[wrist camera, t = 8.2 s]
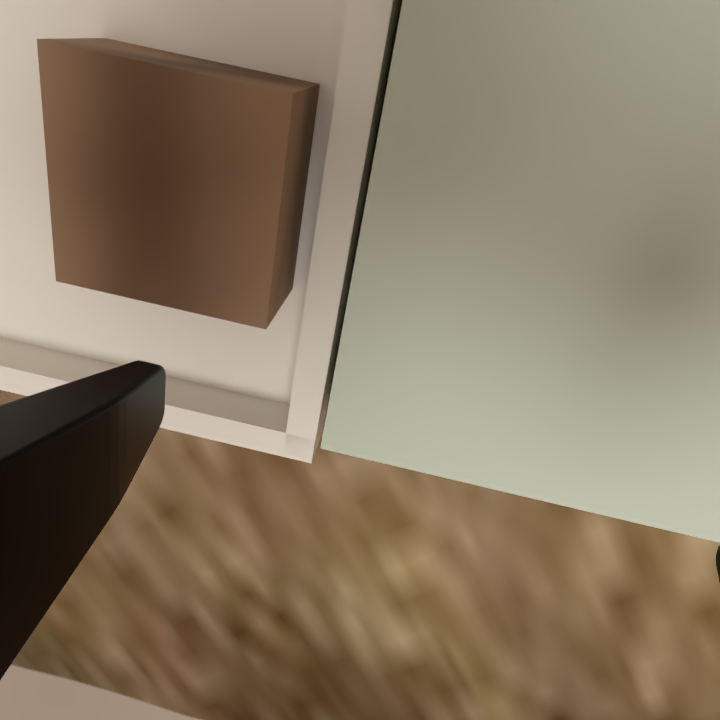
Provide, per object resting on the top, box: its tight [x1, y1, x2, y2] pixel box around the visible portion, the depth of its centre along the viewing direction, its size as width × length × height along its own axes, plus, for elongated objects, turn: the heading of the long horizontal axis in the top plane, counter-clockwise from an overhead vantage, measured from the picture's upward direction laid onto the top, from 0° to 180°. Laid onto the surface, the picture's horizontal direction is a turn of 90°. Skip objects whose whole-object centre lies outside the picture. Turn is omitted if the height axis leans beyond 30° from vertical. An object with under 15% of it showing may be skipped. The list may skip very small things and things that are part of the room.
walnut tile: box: [37, 38, 320, 329], centre depth 16 cm, size 6×6×3 cm
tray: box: [0, 0, 401, 463], centre depth 17 cm, size 15×17×3 cm
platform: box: [321, 0, 720, 543], centre depth 16 cm, size 14×14×3 cm
